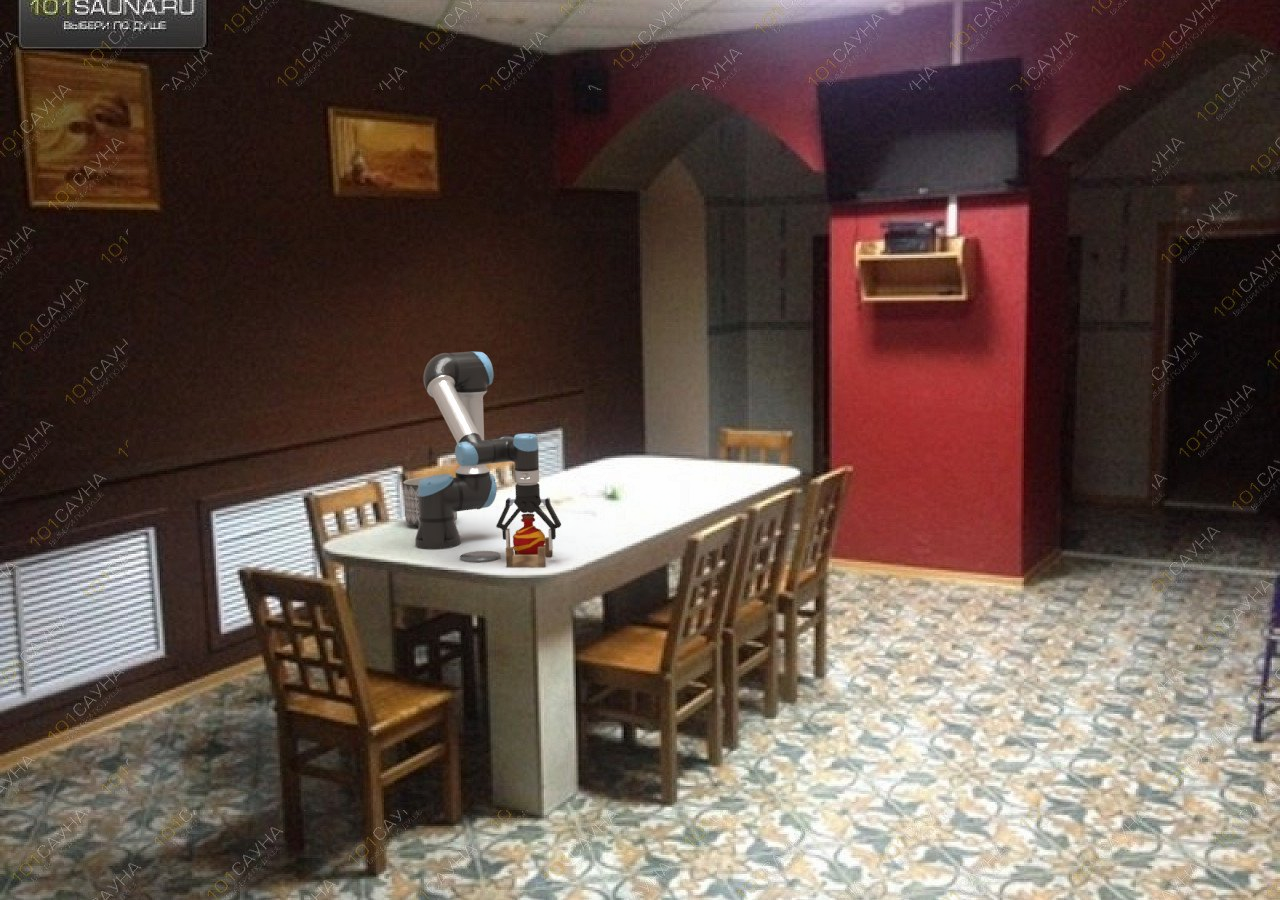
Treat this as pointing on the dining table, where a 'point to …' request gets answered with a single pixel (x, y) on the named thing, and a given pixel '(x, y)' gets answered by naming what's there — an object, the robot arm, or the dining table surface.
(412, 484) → the planter
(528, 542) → the potion bottle
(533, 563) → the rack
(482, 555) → the coaster
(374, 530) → the dining table surface
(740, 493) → the dining table surface
